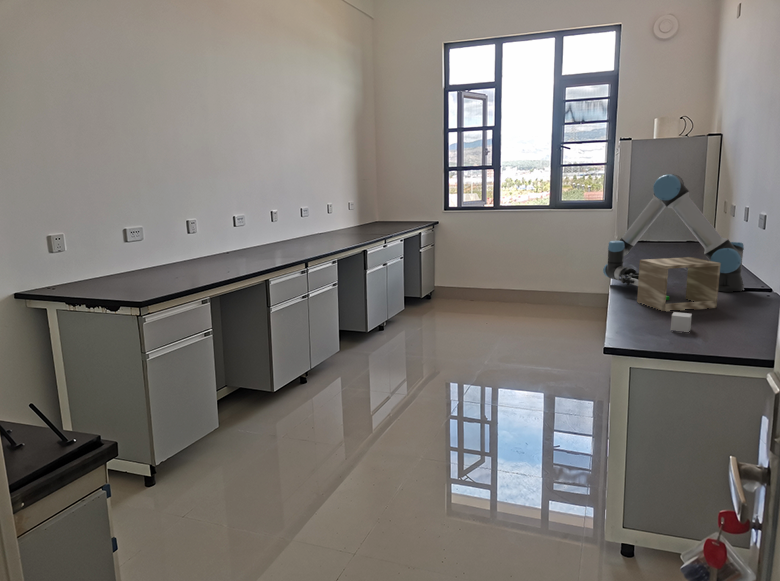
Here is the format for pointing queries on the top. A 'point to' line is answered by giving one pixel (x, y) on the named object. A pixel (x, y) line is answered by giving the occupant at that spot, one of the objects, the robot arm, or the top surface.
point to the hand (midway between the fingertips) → (652, 282)
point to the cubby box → (698, 283)
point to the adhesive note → (681, 321)
